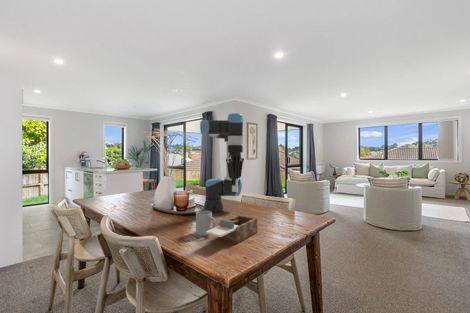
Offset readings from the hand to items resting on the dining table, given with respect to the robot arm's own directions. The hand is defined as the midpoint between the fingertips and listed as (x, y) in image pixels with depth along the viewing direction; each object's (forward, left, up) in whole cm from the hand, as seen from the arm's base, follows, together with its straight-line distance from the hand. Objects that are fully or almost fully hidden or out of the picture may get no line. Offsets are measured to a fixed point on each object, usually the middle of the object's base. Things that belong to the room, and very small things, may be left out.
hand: (235, 191), depth 115 cm
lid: (+10, 0, -17) cm, 20 cm away
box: (-3, 0, -23) cm, 23 cm away
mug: (+5, -15, -23) cm, 28 cm away
